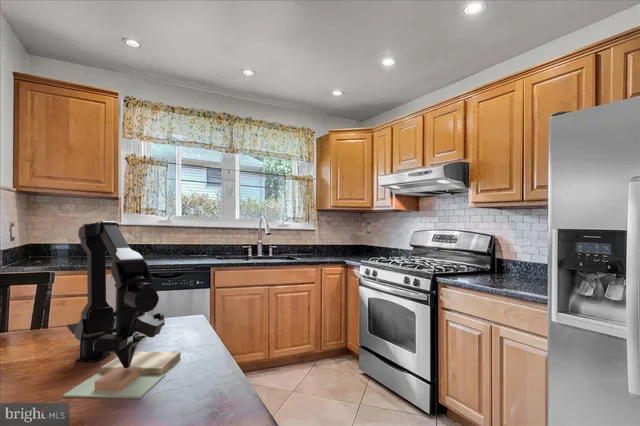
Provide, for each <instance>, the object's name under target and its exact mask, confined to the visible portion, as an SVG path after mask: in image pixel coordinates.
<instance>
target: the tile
mask: <svg viewBox="0 0 640 426" xmlns="http://www.w3.org/2000/svg"><path fill="white" fill-rule="evenodd" d="M140 375H141V367H129V368H124V367H121V366H119V367H117V368H115V369H114V370H112V371H111V372H109V373H107V374H106V375H104V376H103V377H101V378H99V379H98V380H96V381H95V389H94V390H107V391H120V390H121V389H122V388H124V387H125V386H126V385H128V384H129V383H131V382H132V381H133V380H135V379H136V378H137V377H139V376H140Z"/></svg>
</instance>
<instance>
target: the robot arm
mask: <svg viewBox="0 0 640 426" xmlns="http://www.w3.org/2000/svg"><path fill="white" fill-rule="evenodd" d="M77 235H78V238H79V240H80V246H81V247H82V248H83V250H84V251H85V252H86V255H87V256H86V260H87V261H86V262H87V263H86V264H87V271H86V272H87V275H86V276H87V277H86V279H87V280H86V281H87V286H86V287H87V303H86V305H85V307H84V308H83V309H82V311H81V312H80V319H79V321H78V322H77V323H78V325H77V327H76V329H75V334H74V337H75V339H76V340H78V341H79V357H77V358H76V359H75V361H76V362H98V361H100V360H102V359H104V358H105V357H108V356H109V355H110V354H111V352H114V353H115V354H116V356H117V357H118V358H119V360H120V362H121V364H122V365H123V367H124V368H129V367H130V364H131V361H132V358H133V355H134V352H135V351H136V349H137V348H138V347H137V346H138V344H140V342H141V341H143V340H144V339H145V338H146V337H147V338H154V337H156V336H157V335H159V334H160V333H161V331H162V328H163V327H164V326H165V325H166V324H165V316H164V315H165V314H164V313H162V312H159V311H158V312H157V313H155V314H154V315H152V314H150V315H148V314H147V315H145V312H147V313H149V312H151V311H153V310H154V309H155V308H156V307H157V305H158V303H159V299H160V296H159V295H158V292H157V291H156V290H155V289H154V288H152V283H153V275H152V273H151V271H150V269H149V266H148V263H147V261H146V260H145V258H144V257H143V256H142V255H141V253H139V252H138V251H136V250H133V249H131V247H130V245H129V244H128V242H127V240H126V237H124V235H123V233H122V231H121V230H120V225H119V222H118V221H115V220H100V221H96V222H93V223H84V224H83V225H81V226H80V227H79V229H78V233H77ZM106 252H108V253H109V256H110V258H111V261H112V262H111V265H110V273H111V274H112V276H113V278H114V280H115V282H116V284H115V287H116V311H113V308H112V307H110V306H109V304H108V303H107V302H106V278H107V269H106V268H107V267H106V266H107V265H106V264H107V263H106V259H107V258H106V255H107V253H106ZM142 277H143V278H142ZM114 316H115V318H114ZM114 324H115V327H114ZM113 333H116V334H113ZM140 333H142V334H144V335H146V336H140Z"/></svg>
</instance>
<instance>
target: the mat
mask: <svg viewBox="0 0 640 426" xmlns="http://www.w3.org/2000/svg"><path fill="white" fill-rule="evenodd" d="M104 375H106V374H101V373H96V374H94V375H92V376H90V377H89V378H87V379H86V380H84V381H82V382H81V383H80V384H78V385H76V386H75V387H73V388H72V389H70V390H69V391H68V390H67V392H65V393H63V394H62V398H95V399H96V398H97V399H99V398H100V399H101V398H102V399H104V398H106V399H142V398H143V397H144V396H145V395H146V394H147V393H149V392H150V391H151V390H152V389H153V387H155V386H156V385H157V384H158V383H159V382H160V381H162V380H163V379H164V378H165V377H166V376H165V374H163V375H140V376H139V377H137V378H136V379H135V380H133V381H132V382H131V383H129V384H128V385H126V386H125V387H124V388H122V389H121V390H120V391H107V390H94V389H95V381H96V380H98V379H99V378H101V377H103V376H104Z"/></svg>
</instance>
